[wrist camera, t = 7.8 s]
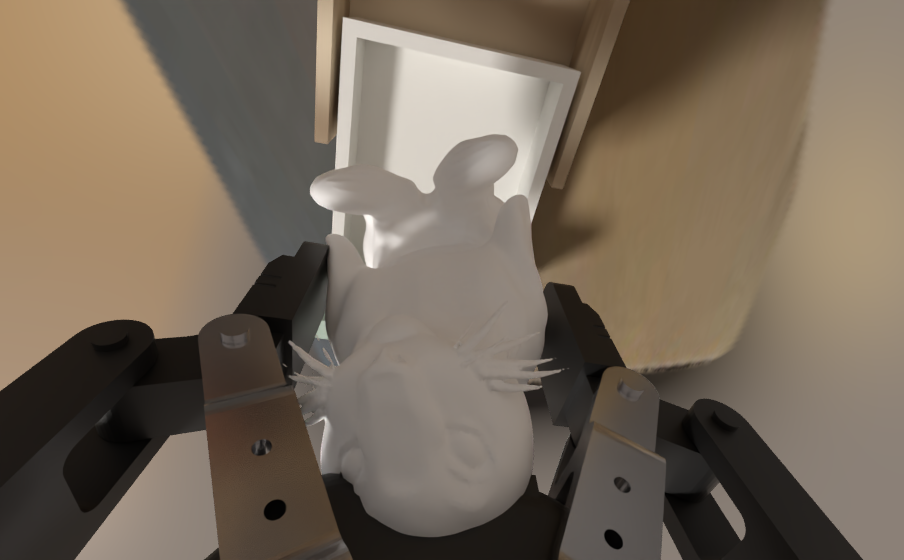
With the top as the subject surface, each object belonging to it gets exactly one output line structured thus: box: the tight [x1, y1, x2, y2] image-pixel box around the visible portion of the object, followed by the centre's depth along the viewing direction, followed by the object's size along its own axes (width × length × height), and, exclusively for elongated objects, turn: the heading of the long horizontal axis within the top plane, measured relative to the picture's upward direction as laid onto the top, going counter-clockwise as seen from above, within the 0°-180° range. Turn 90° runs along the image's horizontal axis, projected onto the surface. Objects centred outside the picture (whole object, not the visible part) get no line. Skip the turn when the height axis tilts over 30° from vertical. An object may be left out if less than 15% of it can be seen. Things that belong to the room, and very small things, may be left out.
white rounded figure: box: [283, 134, 569, 537], centre depth 11 cm, size 6×8×12 cm
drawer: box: [315, 17, 581, 339], centre depth 21 cm, size 14×12×6 cm
